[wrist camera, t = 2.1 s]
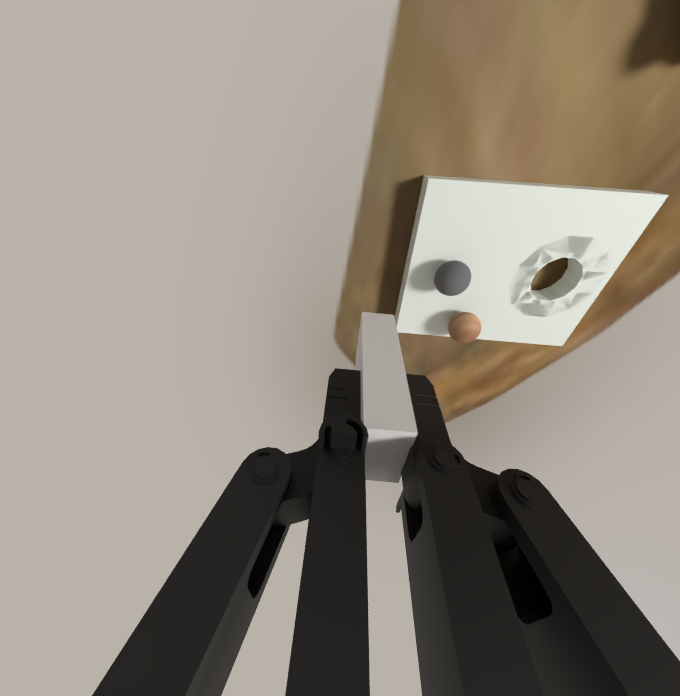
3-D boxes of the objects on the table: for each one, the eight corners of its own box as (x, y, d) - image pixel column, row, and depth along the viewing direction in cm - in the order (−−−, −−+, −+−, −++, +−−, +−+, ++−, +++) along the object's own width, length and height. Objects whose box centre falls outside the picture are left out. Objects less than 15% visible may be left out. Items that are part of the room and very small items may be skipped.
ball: (435, 254, 27) (443, 266, 24) (470, 256, 27) (481, 269, 24) (427, 285, 29) (433, 300, 26) (459, 288, 29) (468, 303, 26)
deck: (423, 175, 25) (428, 178, 23) (644, 190, 25) (668, 195, 23) (393, 320, 35) (395, 332, 33) (550, 334, 35) (562, 346, 33)
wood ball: (449, 305, 30) (457, 321, 28) (480, 307, 30) (491, 324, 28) (441, 330, 32) (447, 347, 30) (469, 332, 32) (479, 350, 30)
